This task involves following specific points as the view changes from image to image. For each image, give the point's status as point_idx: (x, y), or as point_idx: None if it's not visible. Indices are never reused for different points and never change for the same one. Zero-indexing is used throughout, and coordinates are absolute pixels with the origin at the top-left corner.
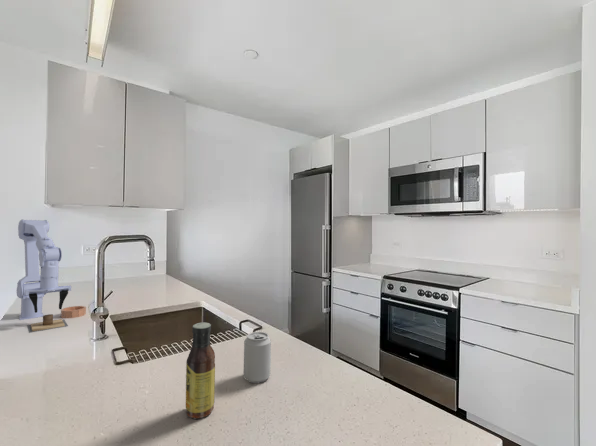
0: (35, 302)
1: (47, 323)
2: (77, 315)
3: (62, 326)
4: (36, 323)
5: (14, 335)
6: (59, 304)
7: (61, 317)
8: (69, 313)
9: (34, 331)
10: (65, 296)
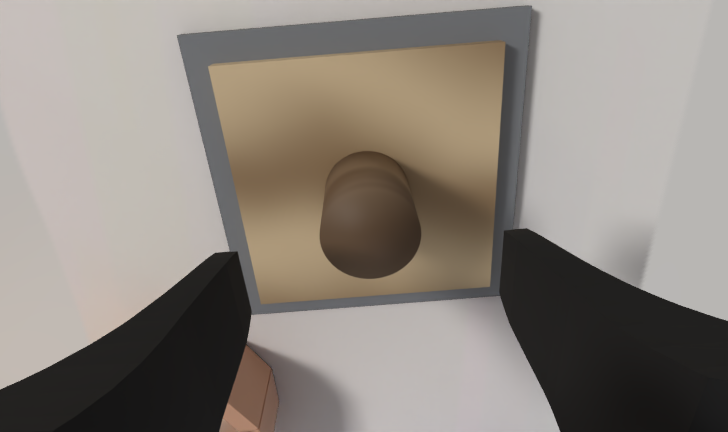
0: (622, 307)
1: (371, 156)
2: None
3: (233, 57)
4: (450, 271)
5: (635, 38)
6: (227, 329)
7: (270, 377)
8: None
9: (483, 25)
10: (26, 385)
